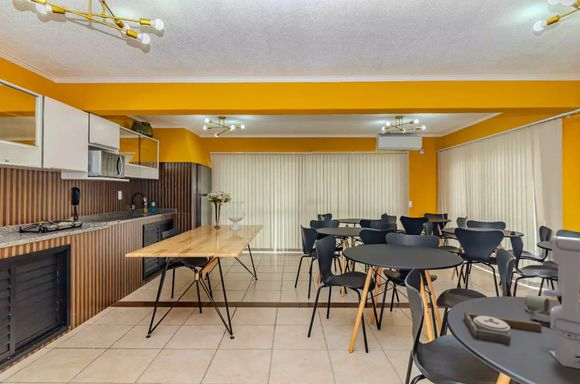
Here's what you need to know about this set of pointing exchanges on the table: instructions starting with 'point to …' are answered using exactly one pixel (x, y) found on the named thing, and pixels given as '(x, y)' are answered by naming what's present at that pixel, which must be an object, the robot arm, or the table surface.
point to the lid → (491, 324)
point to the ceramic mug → (537, 304)
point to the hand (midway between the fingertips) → (567, 315)
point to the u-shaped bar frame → (497, 335)
